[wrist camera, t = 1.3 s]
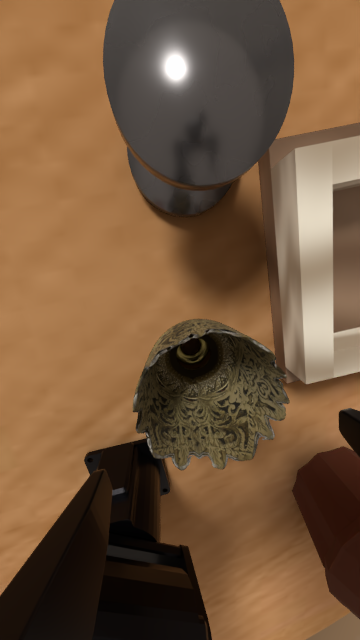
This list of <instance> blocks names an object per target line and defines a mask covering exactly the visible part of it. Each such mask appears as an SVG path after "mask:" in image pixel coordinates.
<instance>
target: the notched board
mask: <svg viewBox="0 0 360 640" xmlns="http://www.w3.org/2000/svg"><path fill="white" fill-rule="evenodd" d="M258 163H259V174H260V185H261V197H262V208H263V219H264V231H265V242H266V253H267V265H268V276H269V287H270V299H271V310H272V321H273V333H274V344H275V355H276V364H277V366H278V367H280V368H281V369H282V370H283V372H284V373H285V374H286V376H287V378H282V379H283V380H284V381H285V382H286V383H291V382H295V381H299V380H301V381H303V382H304V383H305V384H310V383H314V382H318V381H322V380H327V379H331V378H335V377H339V376H344V375H348V374H352V373H356V372H360V123H355V124H350V125H345V126H340V127H335V128H330V129H325V130H320V131H315V132H310V133H305V134H300V135H295V136H290V137H285V138H279V139H275V140H274V141H273V143H272V144H271V146H270V147H269V149H268V150H267V151H266V153H265V154H264V155H263V156H262V157H261V158H260V159H259V160H258Z"/></svg>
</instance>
